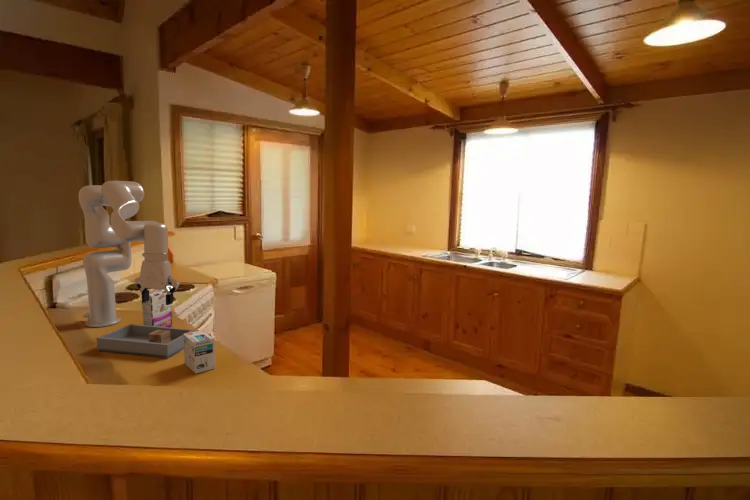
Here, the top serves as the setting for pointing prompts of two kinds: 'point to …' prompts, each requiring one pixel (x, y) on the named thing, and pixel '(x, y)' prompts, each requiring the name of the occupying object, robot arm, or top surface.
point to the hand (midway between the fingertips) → (157, 302)
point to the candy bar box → (157, 310)
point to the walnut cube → (160, 336)
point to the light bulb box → (199, 351)
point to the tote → (141, 341)
